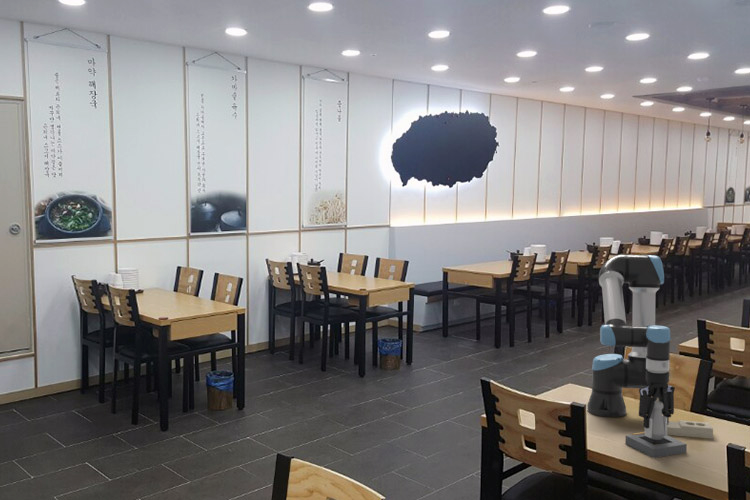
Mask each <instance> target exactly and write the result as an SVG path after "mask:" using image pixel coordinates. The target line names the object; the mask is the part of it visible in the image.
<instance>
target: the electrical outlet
mask: <svg viewBox="0 0 750 500" xmlns="http://www.w3.org/2000/svg"><path fill="white" fill-rule="evenodd" d="M667 435H668V436H680V437H681V436H682V437H689V438H690V437H692V438H704V439H714V438H713V437H714V428H713V427H712V425H711V423H710V422H708V421H707V422H705V421H704V422H703V421H695V420H682V419H679V420H678V421H669V423H668V425H667Z"/></svg>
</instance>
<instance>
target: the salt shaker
mask: <svg viewBox="0 0 750 500" xmlns="http://www.w3.org/2000/svg"><path fill="white" fill-rule="evenodd" d="M661 409H663V403H662V402H660V401H659V400H656V401H655V403H654V407H653V410H652V414H651V418H650V419H652V438H651V439H654V440H661V439H662V438H663V436H664V434H665V430H664V423H663V417H662V410H661Z"/></svg>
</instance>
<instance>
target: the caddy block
mask: <svg viewBox="0 0 750 500" xmlns="http://www.w3.org/2000/svg"><path fill="white" fill-rule="evenodd" d="M625 445H628V446H629V447H631V448H633V449H635V450H637V451H639V452H640V453H643V454H645V455H647V456H648V457H651V458H653V459H654V458H655V459H656V458H657V459H658V458H662V457H668V456H674V455H675V456H676V455H681V454H685V453H687V447H688V446H687V445H688V443H686V442H683V441H680V440H679V439H676V438H675V437H672V436H671V435H667V436H665V435H664V436H663V438H662V439H661V440H654V439H651V438H649V437H647V436H645V431H642V432H636V433H635V432H634V433H632V434H628V435H627V434H626V435H625Z"/></svg>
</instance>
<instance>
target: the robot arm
mask: <svg viewBox="0 0 750 500" xmlns="http://www.w3.org/2000/svg"><path fill="white" fill-rule="evenodd" d="M664 271H665V270H664V266H663V262H662V259H661V258H660V256H658V255H653V254H652V255H650V254H617V255H614V256H612V257H610V258H609V259H607V260H606V261H605V262H604V264H603V265H602V266H601V268H600V270H599V273H598V283H599V286H600V287H601V293H602V303H603V306H602V307H603V314H604V315H603V318H604V324H602V325H601V326H600V327H599V337H600V339H599V341H600V343H601V345H603V346H609V347H610V346H611V347H630V348H631V347H632V348H631V351H630V352H629V353H628V354H627V358H624V357H623V355H622V354H618V353H606V354H600V355H597V356H595V357H594V358H593V360H592V367H591V370H592V380H591V381H592V383H591V393H590V397H589V400H588V403H586V404H587V406H586V409H588V410H587V412H589V413H590V414H592V413H593V415H595V414H596V415H595V416H601V417H605V418H606V417H607V418H618V417H623V416H626V414H627V407H626V403H625V400H624V397H623V389H637V390H638V393H639V403H638V404H639V405H638V416H639V417H640V418H643V428H644V432H645V436H647V437H649V438H652V419H650V418H651V414H652V410H653V407H654V403H655V401H660V402H662V403H663V409H661V410H662V417H663V423H664V430H665V434H664V435H665V436H667V425H668V423H669V419H670V418H671V417H672V415H674V413H675V403H674V401H675V400H674V397H675V396H674V393H675V390H676V389H675V388H676V387H675V386H672V385H669V382H670V372H669V371H670V357H671V356H670V354H671V351H670V350H671V339H672V338H671V337H672V336H671V329H670V328H669V327H667V326H664V325H657V324H656V293H657V291H659V290H660V286H661V285H663V284H664V283H665V273H664ZM624 284H628V289H629V290H630V291H631V292H632V325H627V320H626V319H627V317H626V309H625V302H624V293H623V285H624ZM657 399H658V400H657Z"/></svg>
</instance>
